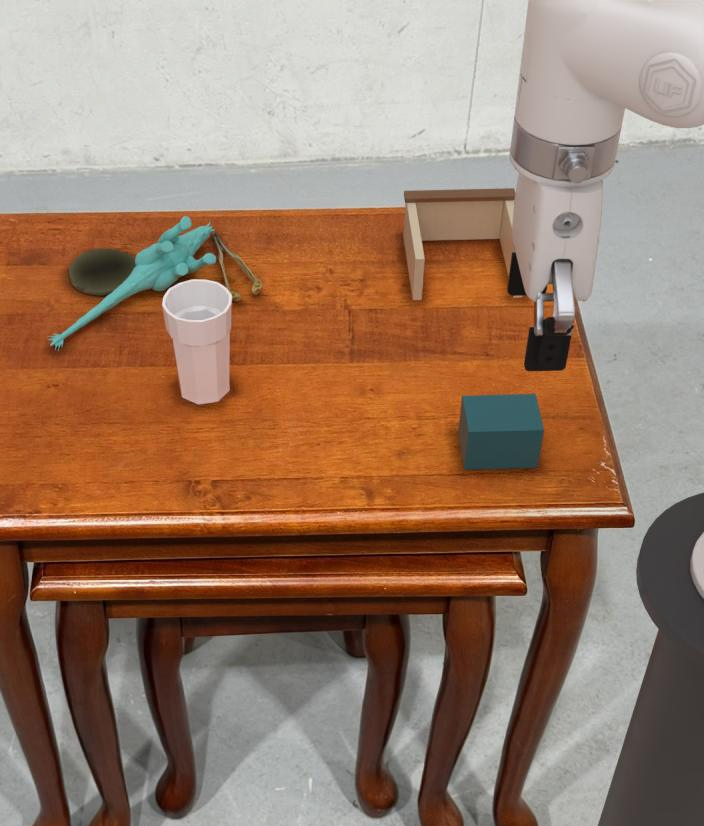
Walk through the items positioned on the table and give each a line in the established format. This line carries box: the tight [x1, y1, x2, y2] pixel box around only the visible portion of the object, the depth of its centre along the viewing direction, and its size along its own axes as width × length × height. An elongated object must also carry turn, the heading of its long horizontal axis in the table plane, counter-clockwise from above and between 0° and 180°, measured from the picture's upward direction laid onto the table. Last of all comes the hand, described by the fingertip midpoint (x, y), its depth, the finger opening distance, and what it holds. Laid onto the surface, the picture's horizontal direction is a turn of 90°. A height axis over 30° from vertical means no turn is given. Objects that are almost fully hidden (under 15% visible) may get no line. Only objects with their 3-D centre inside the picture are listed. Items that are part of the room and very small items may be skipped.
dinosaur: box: [47, 215, 217, 351], centre depth 138 cm, size 6×25×8 cm
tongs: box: [210, 231, 263, 303], centre depth 143 cm, size 4×13×2 cm, turn 25°
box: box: [457, 393, 545, 471], centre depth 121 cm, size 5×7×5 cm
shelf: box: [402, 187, 524, 301], centre depth 142 cm, size 12×12×6 cm
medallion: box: [68, 247, 136, 296], centre depth 143 cm, size 8×8×1 cm
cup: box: [161, 278, 233, 406], centre depth 126 cm, size 7×7×11 cm
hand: (534, 329), depth 104 cm, fingers open, 9 cm apart
